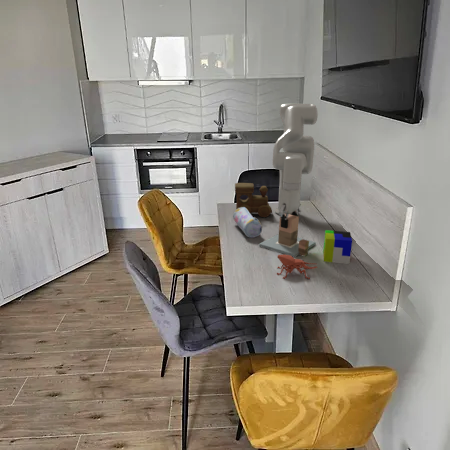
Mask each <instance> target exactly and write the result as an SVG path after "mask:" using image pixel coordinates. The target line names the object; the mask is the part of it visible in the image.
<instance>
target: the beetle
mask: <svg viewBox="0 0 450 450" xmlns="http://www.w3.org/2000/svg"><path fill="white" fill-rule="evenodd" d="M277 259H278V261H280V263H281V267H280V266H277V269H279V270H281V271H280V272H276V275H277V276H279V275H282V273H283V271H284V270H285V272H286V273H285V276H282V279H284V280H285V279H287V278H288V277H287V276H288V274H292V272H294V270H297V272H299V273H300V274H304V276H305V279H307V278H308V279H309V280H310V276H308V277H307V272H306V270H314V269H317V268H318V266H308V265H316V263H312V262H306V261H304V259H303V260H302V259H300V258H295V257H292V256H291V255H286V254H277ZM308 279H307V280H308Z"/></svg>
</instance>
